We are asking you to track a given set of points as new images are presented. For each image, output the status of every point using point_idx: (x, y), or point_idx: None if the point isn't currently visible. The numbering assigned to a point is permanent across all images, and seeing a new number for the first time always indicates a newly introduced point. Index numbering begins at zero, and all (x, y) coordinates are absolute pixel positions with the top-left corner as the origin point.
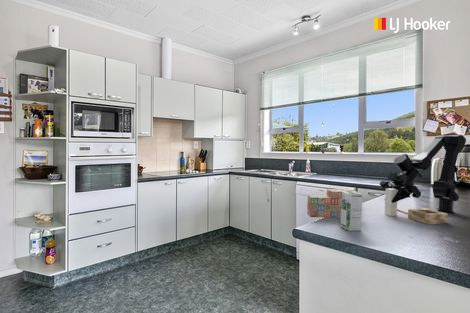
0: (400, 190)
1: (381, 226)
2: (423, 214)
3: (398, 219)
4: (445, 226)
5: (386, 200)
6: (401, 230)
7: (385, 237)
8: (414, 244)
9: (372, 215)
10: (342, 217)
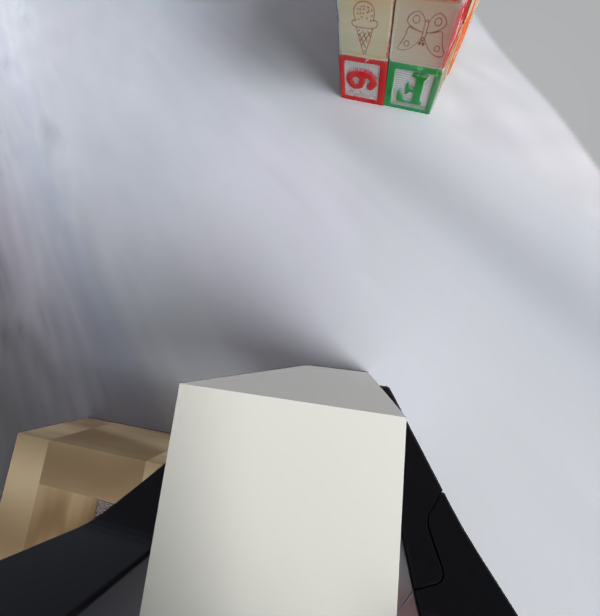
0: (45, 558)
1: (179, 120)
2: (69, 439)
3: (228, 335)
4: None
5: (353, 380)
6: (105, 164)
7: (90, 39)
8: (13, 84)
9: (369, 245)
10: None
